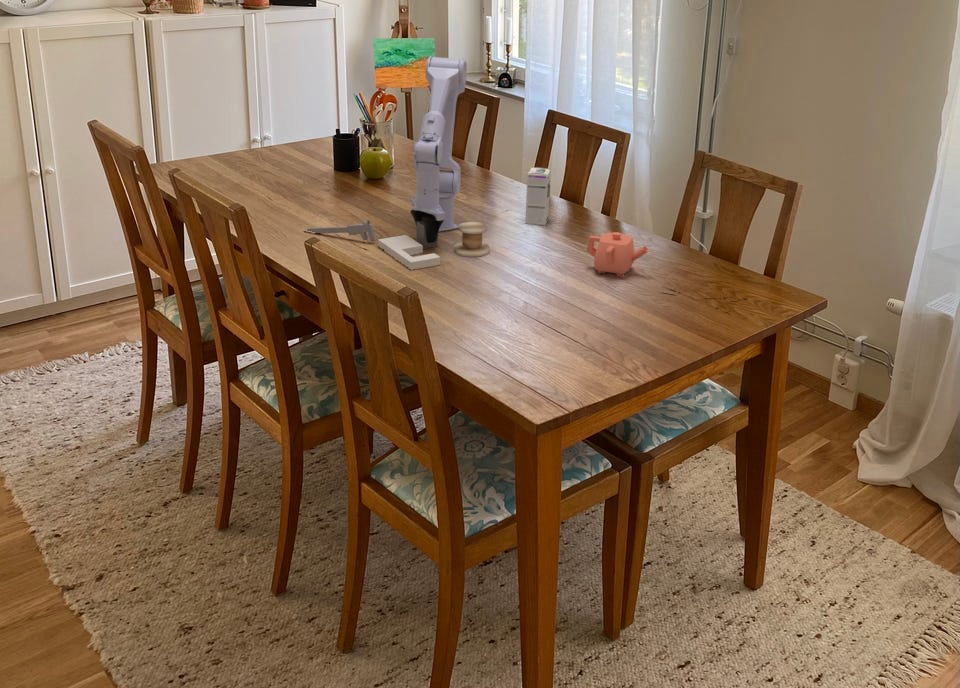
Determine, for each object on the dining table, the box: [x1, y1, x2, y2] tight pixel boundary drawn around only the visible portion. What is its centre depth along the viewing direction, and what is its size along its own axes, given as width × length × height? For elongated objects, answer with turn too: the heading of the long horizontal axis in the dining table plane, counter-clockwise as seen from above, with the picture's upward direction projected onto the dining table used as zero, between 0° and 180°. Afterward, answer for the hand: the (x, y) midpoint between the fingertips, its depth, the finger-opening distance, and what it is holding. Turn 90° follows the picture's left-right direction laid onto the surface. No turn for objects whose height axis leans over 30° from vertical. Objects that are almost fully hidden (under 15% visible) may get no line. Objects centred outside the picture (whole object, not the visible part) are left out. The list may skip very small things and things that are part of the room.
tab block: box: [416, 220, 439, 249], centre depth 257 cm, size 4×4×6 cm
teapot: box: [586, 231, 649, 277], centre depth 244 cm, size 12×12×10 cm
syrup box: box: [525, 167, 552, 226], centre depth 275 cm, size 6×6×14 cm
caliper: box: [306, 219, 375, 243], centre depth 260 cm, size 20×1×6 cm, turn 69°
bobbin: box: [453, 221, 491, 258], centre depth 254 cm, size 9×9×6 cm
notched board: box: [377, 234, 441, 271], centre depth 250 cm, size 18×8×2 cm, turn 31°
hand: (427, 239), depth 258 cm, fingers closed on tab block, 4 cm apart
